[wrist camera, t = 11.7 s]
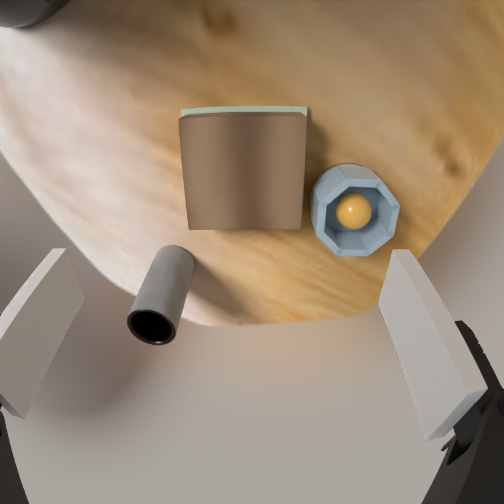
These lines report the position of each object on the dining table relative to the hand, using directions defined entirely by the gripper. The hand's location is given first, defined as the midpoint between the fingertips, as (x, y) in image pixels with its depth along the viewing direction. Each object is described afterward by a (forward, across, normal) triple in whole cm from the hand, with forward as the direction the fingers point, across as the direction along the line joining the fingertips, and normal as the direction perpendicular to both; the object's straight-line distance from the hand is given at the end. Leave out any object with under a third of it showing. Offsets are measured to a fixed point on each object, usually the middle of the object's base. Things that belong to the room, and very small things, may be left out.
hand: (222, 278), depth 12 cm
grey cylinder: (+19, -8, -12) cm, 24 cm away
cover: (+18, 0, -1) cm, 18 cm away
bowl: (+19, +10, -5) cm, 22 cm away
